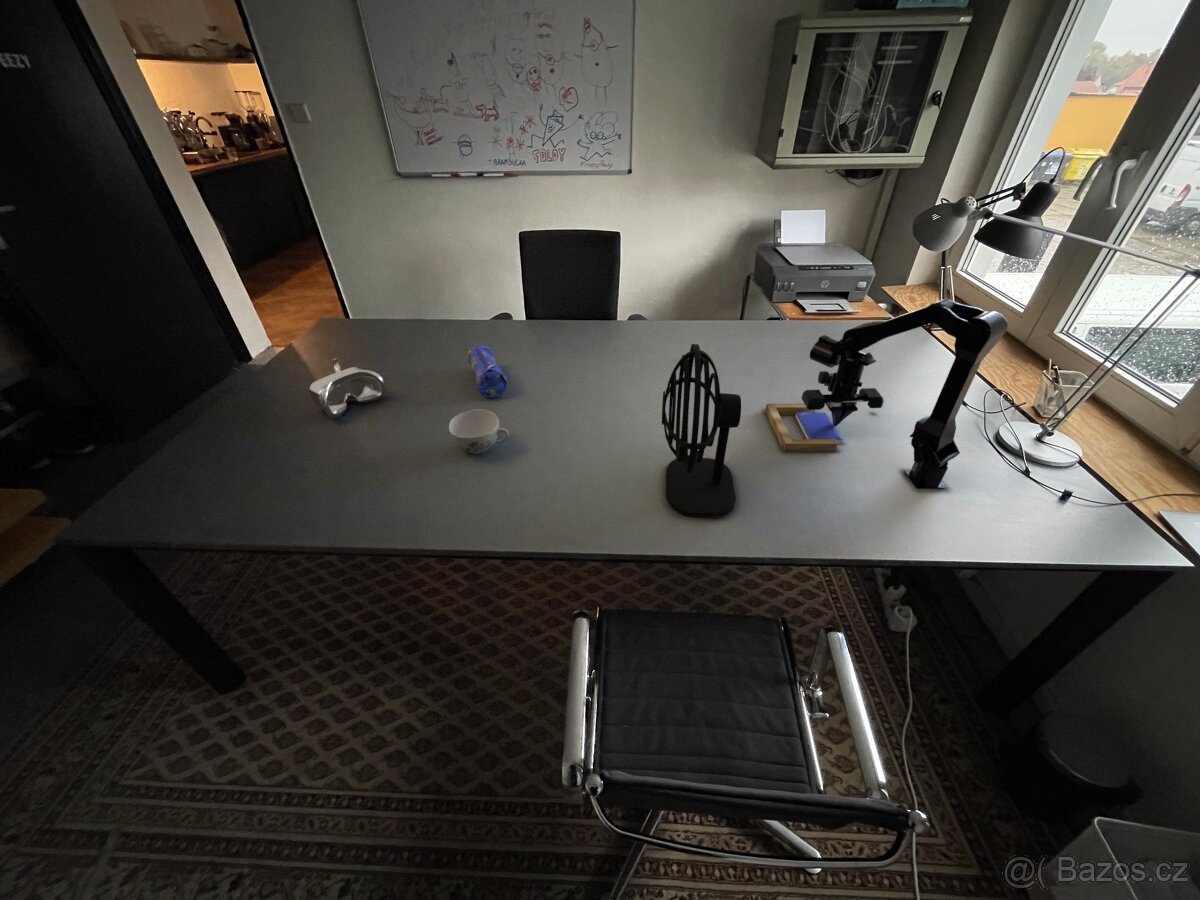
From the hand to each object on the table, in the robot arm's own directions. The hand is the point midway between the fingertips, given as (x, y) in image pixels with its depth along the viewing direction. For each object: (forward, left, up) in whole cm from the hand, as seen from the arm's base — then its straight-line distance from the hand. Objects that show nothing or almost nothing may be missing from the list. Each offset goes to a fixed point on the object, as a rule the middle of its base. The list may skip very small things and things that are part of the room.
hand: (834, 425), depth 135 cm
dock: (0, +8, -1) cm, 8 cm away
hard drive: (0, +4, -2) cm, 5 cm away
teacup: (-7, +93, -2) cm, 94 cm away
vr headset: (+14, +136, -2) cm, 137 cm away
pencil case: (+27, +98, -2) cm, 102 cm away
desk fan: (-23, +40, -2) cm, 47 cm away
